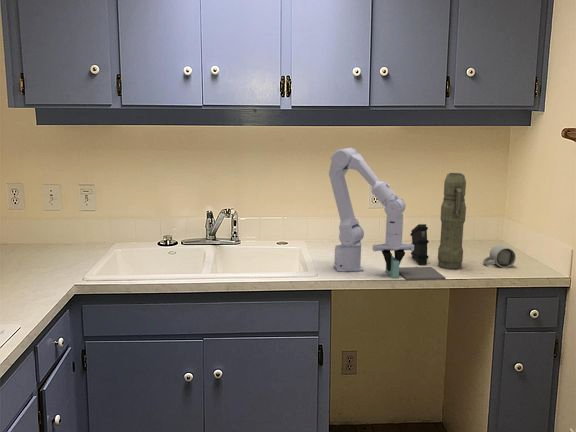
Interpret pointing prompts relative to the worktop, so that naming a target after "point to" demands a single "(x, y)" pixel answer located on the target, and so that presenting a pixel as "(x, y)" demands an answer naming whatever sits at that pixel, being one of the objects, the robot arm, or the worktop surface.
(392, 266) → the card box
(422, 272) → the mat
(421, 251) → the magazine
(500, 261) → the ceramic mug
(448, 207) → the thermos
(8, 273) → the worktop surface
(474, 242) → the worktop surface
